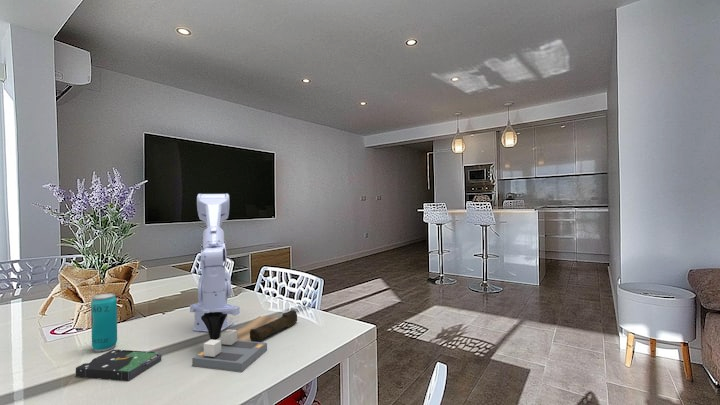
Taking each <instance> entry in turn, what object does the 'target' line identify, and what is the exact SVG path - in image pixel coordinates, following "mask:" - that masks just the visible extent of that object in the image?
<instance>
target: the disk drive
mask: <svg viewBox="0 0 720 405" xmlns="http://www.w3.org/2000/svg"><path fill="white" fill-rule="evenodd" d="M160 362H162V354H160V352H155V351H144V350H143V351H142V350H129V349H114V348H112V349H110V350H108V351H106V353H103V354H101V355H99V356H96V357H95V358H92V360H90V362H88V363H86V362H85V363H82V364H80V365H78V366H76V367H75V377H76V376H80V377H79V378H83V377H88V378H87V379H89V378H90V379H97V378H101V379H100V380H109V379H111V381H118V380H119V381H121V382H130V381H132V380H134V379H135V378H137V377H138V376H140V375H142V374H143V373H145V372H146V371H147V370H149V369H151V368H152V367H153V366H156V365H157V364H159V363H160Z"/></svg>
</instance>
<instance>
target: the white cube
mask: <svg viewBox="0 0 720 405" xmlns="http://www.w3.org/2000/svg"><path fill="white" fill-rule="evenodd" d="M203 351H204V356H211V357H215V356H216V355H218V354H219V353H220V352H221V339H216V340H212V339H209V340H207V341H206V342H204V343H203Z"/></svg>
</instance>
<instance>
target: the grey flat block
mask: <svg viewBox="0 0 720 405" xmlns="http://www.w3.org/2000/svg"><path fill="white" fill-rule="evenodd" d="M267 350H268V343H267V342H262V341H261V342H260V341H259V342H253V341H242V340H237V341H236V342H235V343H233V344H232V345H226V344H222V343H221V352H220V353H219V354H218V355H216V356H215V357H211V356H204V350H203V351H201V352H199V353H198V354H196V355H195V356H193V357H192V359H191V360H192V365H191V366H192V367H199V368H208V369H217V370H222V371H223V370H225V371H231V372H240V373H243V372H244V371H245V370H246V369H247V368H248V367H249V366H250V365H252V364H253V363H254V362H255V361H256V360H257V359H258V358H260V357H261V356H262V355H263V354H264V353H266V352H267Z"/></svg>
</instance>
